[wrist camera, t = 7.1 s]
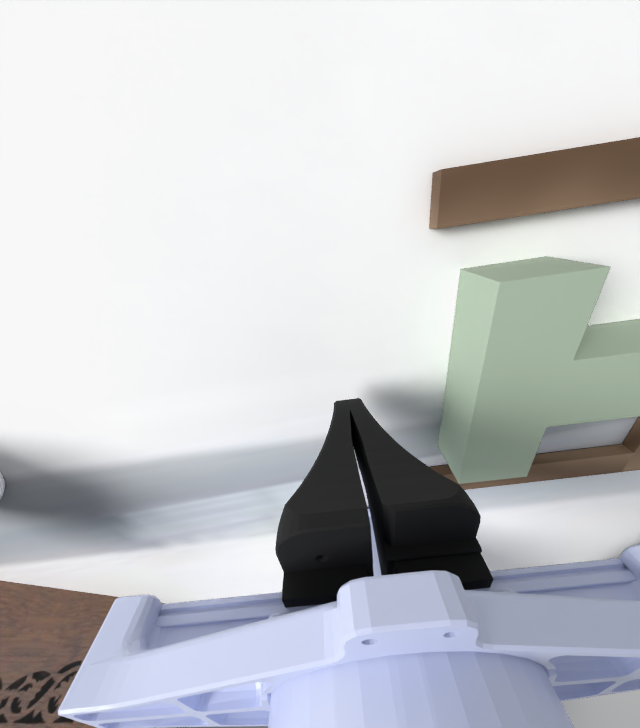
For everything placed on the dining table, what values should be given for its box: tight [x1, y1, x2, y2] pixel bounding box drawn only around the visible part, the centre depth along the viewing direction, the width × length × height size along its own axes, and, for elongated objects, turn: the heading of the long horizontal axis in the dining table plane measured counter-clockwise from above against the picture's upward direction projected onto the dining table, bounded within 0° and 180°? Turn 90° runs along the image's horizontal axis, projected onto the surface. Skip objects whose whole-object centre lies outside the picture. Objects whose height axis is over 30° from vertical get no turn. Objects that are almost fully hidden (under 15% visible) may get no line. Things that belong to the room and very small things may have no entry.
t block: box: [438, 257, 640, 484], centre depth 14 cm, size 12×11×3 cm
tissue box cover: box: [0, 581, 164, 728], centre depth 26 cm, size 26×14×10 cm, turn 64°
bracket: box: [429, 137, 640, 490], centre depth 15 cm, size 20×17×1 cm
